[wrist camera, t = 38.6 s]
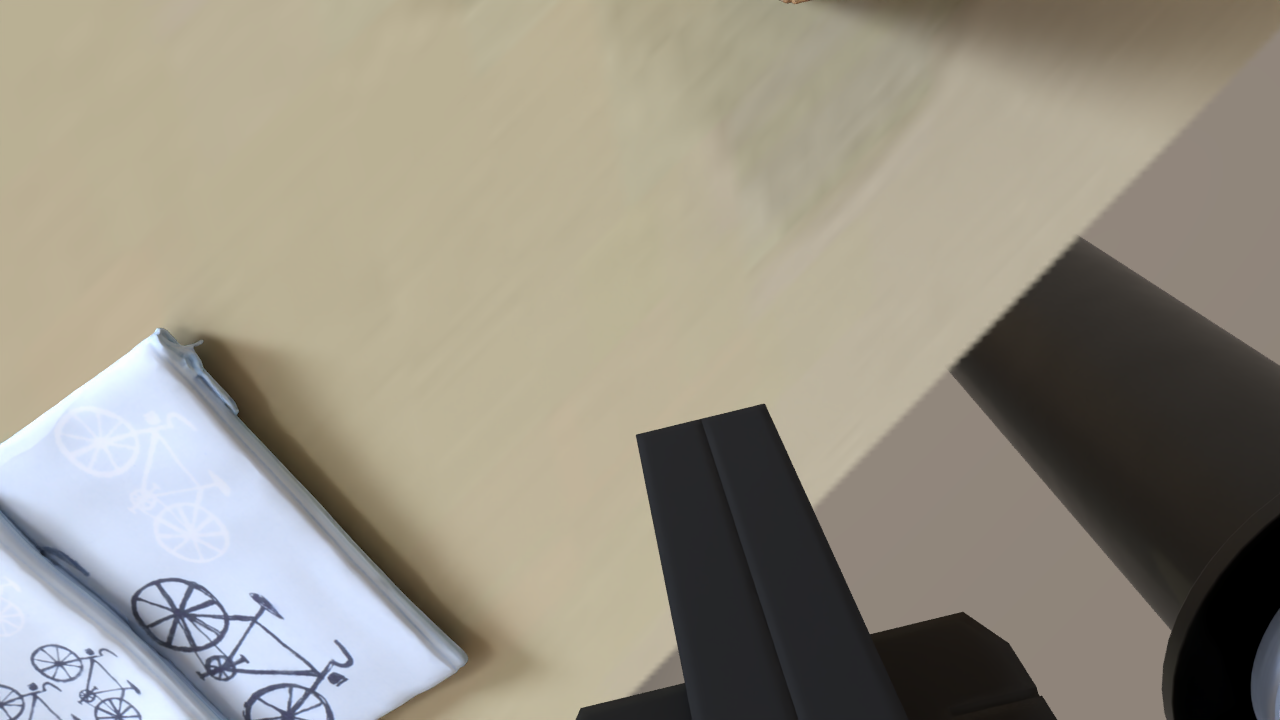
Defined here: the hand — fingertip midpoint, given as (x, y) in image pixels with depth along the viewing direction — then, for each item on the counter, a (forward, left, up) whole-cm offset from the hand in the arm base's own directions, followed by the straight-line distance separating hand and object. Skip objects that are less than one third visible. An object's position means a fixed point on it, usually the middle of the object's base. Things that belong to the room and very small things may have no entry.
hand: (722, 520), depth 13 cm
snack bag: (-16, +22, -27) cm, 38 cm away
